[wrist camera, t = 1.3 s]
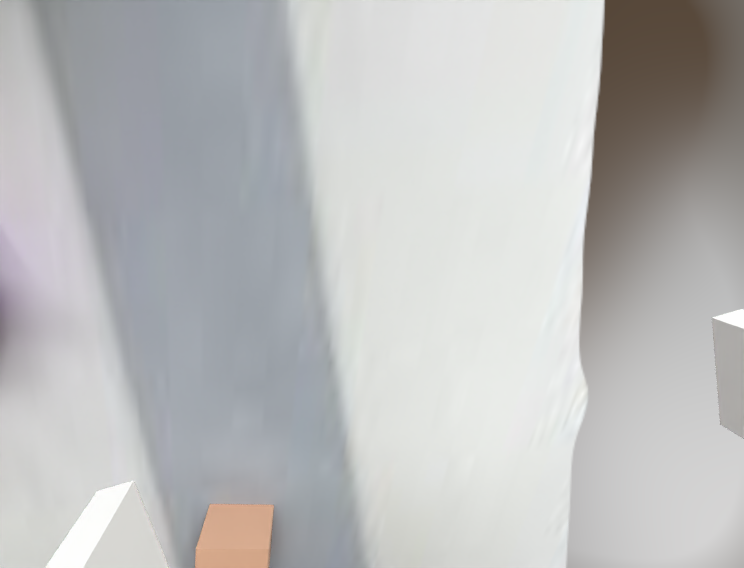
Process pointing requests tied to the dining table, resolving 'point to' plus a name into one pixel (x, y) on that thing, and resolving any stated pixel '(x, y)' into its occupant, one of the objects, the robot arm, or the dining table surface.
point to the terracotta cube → (235, 537)
